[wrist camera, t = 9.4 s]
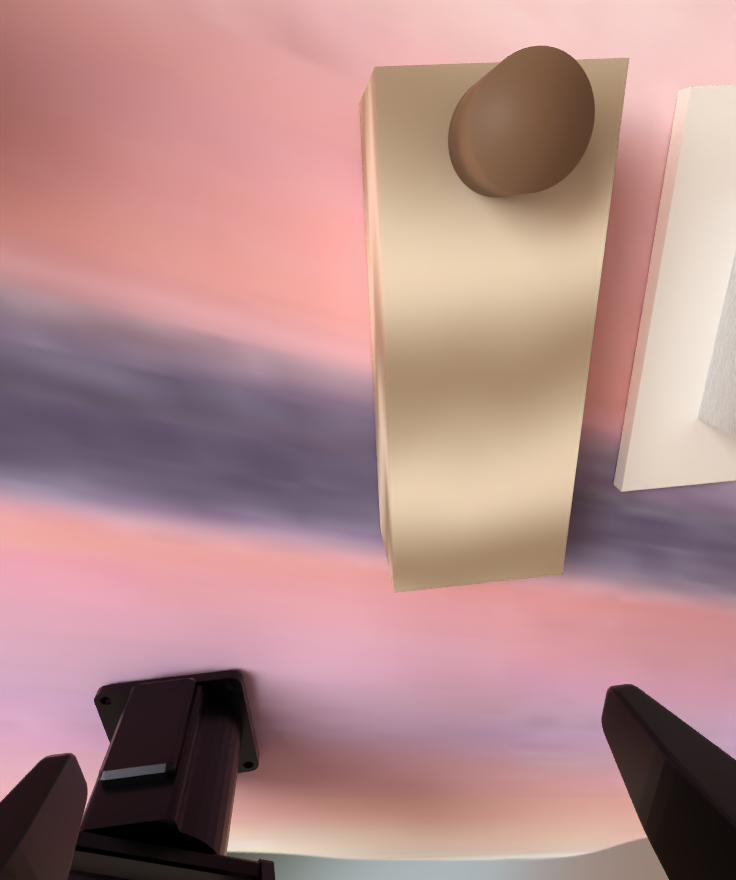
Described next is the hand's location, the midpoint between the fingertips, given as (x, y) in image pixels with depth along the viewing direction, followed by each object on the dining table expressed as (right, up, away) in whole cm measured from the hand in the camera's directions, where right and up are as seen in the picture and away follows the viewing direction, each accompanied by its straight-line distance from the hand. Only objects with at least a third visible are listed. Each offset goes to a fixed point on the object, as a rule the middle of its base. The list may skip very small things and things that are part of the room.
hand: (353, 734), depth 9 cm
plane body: (+3, +8, +10) cm, 13 cm away
